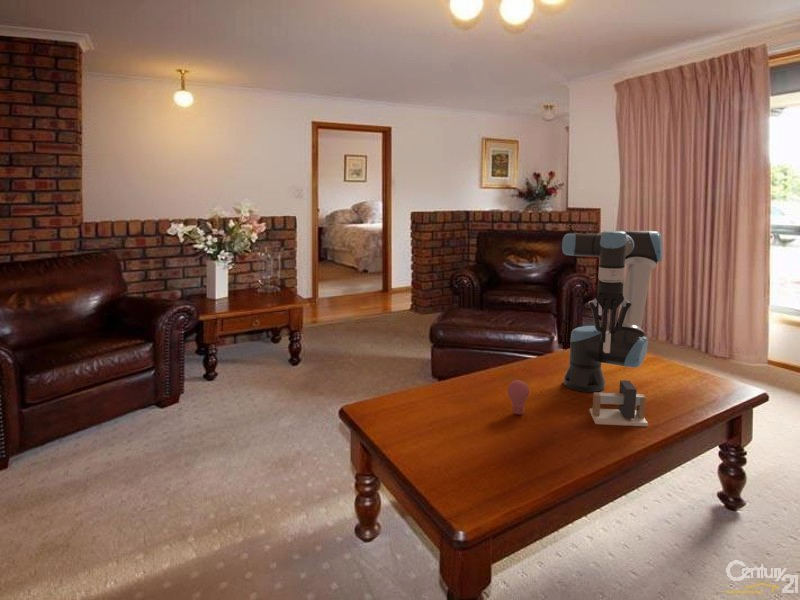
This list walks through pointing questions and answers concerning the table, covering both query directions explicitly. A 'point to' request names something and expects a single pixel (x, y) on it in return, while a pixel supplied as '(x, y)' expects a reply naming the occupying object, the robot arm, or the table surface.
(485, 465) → the table surface
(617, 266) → the robot arm
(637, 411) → the pipe rig
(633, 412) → the dark grey block
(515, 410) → the light bulb
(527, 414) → the table surface
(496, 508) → the table surface
